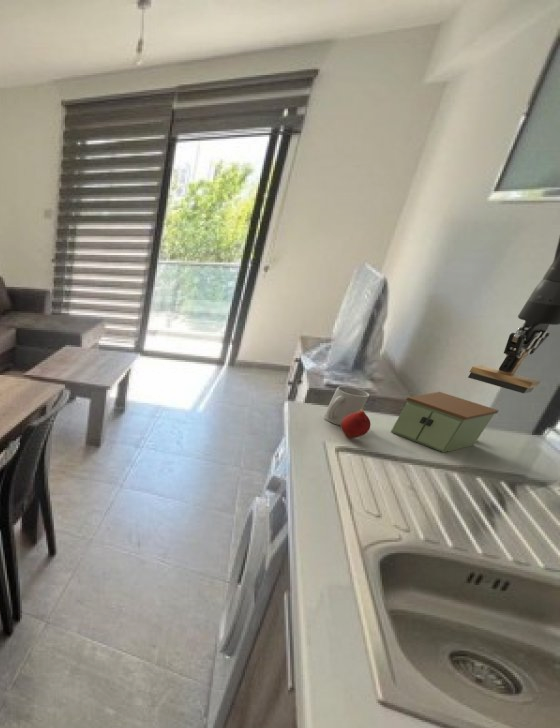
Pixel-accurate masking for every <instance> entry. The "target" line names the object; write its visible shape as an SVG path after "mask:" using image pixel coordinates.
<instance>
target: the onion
mask: <svg viewBox="0 0 560 728" xmlns="http://www.w3.org/2000/svg"><path fill="white" fill-rule="evenodd" d="M340 429H341V431H342V432H343V434H344V436H345V437H346V438H347V439H354V438H359V437H362V436H364V435H366V434H367V433H368V432H369V431H370V430H371V419H370V417H369V416H368V415H367V414H366V412H365V409H360V410H359V411H358V412H356V413H352V414H350V415H348V416H346V417H345V418H344V419H343V420H342V422H341V425H340Z"/></svg>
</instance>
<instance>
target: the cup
mask: <svg viewBox="0 0 560 728" xmlns="http://www.w3.org/2000/svg"><path fill="white" fill-rule="evenodd" d="M369 397H370V393H368V392H367V391H366V390H362V389H360V388H356V387H352V386H345V385H344V386H343V385H340V386H337V387H336V390H335V392H334V393H333V396H332V398H331V400H330V402H329V404H328V406H327V408H326V411H325V413H324V415H323V417H324V419H325V421H327V422H328V423H330V424H334V425H336V426H341V422H342V420H343V419H344V418H345V417H346V416H348V415H350V414H352V413H356V412H358V411H359V410H360V409H362V410H364V409H363V408H364V407H365V405H366V403H367V401H368V399H369Z"/></svg>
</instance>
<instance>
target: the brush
mask: <svg viewBox="0 0 560 728" xmlns="http://www.w3.org/2000/svg"><path fill="white" fill-rule="evenodd" d="M514 350H516V348H515V349H514ZM527 354H528V352H526V351H524V353H523V354H522V356H521V357H520V358H519V360H518V362H517V363H516V365H515V366H514V368H513V369H512V371H511V372H504V371H500V370H499V369H496V368H492V367H488V366H484V365H474V366H471V368H470V370H469V375H468V376H467V378H468V379H471V380H476V381H478V382H481V383H485V384H489V385H493V386H496V387H500V388H503V389H506V390H510V391H514V392H517V393H519V394H520V393H521V394H529V393H532V391H533V390H534V388H537V387H538V386H539V385H540V383H541V380H539V379H538V380H537V379H534V378H530V377H526V376H522V375H519V374H516V372H517V371H518V369H519V368H520V366H521V365H522V363H523V362H524V360H525V359H526V358H527V357H526V355H527Z"/></svg>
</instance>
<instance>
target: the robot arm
mask: <svg viewBox="0 0 560 728" xmlns="http://www.w3.org/2000/svg"><path fill="white" fill-rule="evenodd" d="M517 318H518V319H519V320H522V321H524V323H523V324H522V325H521V326H520V327H519V328H517V330H516V331H515V332H511V333H510V334H509V336H508V339H507V341H506V344H505V348H504V350H503V354H505V356H506V357H504V360H503V361H502V363H501V364H500V366H499V368H498V370H500V371H504V372H511V371H512V369H513V368H514V366H515V365H516V363H517V362H518V360H519V358H520V357H521V356H522V354H523V353H524V351H526V352H528V354H527V355H526V357H525V358H528V357H529V355H533V354H534V353H535V351H536V350H537V349H538V348H539V347H540V346H541V345H542V344H543V343H544V342H545V341H546V339H547V338H548V337H549V336H550V332H548V331H547V330H548V329H549V326H552V325H554V326H558V325H560V235H558V240H557V244H556V248H555V251H554V256H553V260H552V263H551V264H550V266H549V267H548V269H547V271H546V272H545V273H544V275H543V277H542V279H541V280H540V281H539V283H538V284H537V285H536V287H535V288H534V289H533V290H532V292H531V294H530V295H529V296H528V298H527V300H526V302H525V304H524V306H523V307H522V309H521V310H520V312H519V314H517ZM514 349H516V350H514Z"/></svg>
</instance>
